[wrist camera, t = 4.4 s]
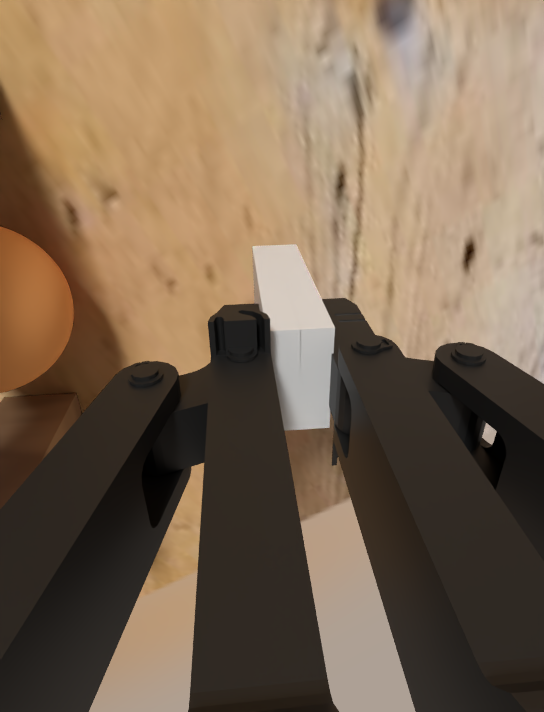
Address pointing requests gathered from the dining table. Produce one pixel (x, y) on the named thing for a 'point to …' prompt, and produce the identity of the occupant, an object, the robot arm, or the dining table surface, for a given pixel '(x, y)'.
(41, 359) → the ball
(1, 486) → the bridge
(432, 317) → the dining table surface
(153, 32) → the dining table surface
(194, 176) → the dining table surface
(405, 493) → the robot arm
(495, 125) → the dining table surface
